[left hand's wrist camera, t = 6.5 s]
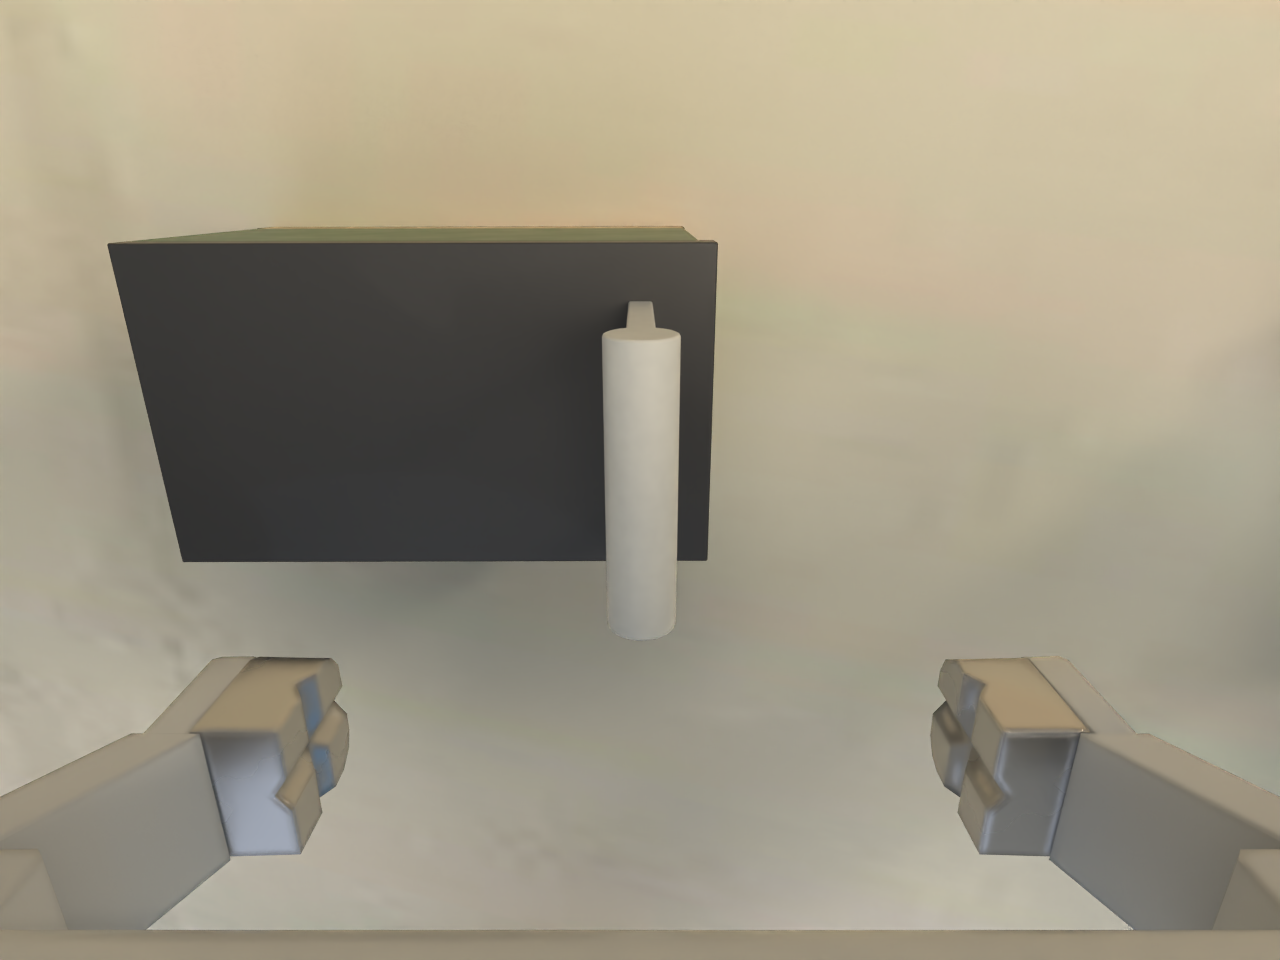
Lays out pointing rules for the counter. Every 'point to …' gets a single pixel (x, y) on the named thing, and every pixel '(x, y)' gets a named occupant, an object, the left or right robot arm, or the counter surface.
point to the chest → (444, 234)
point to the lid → (434, 402)
